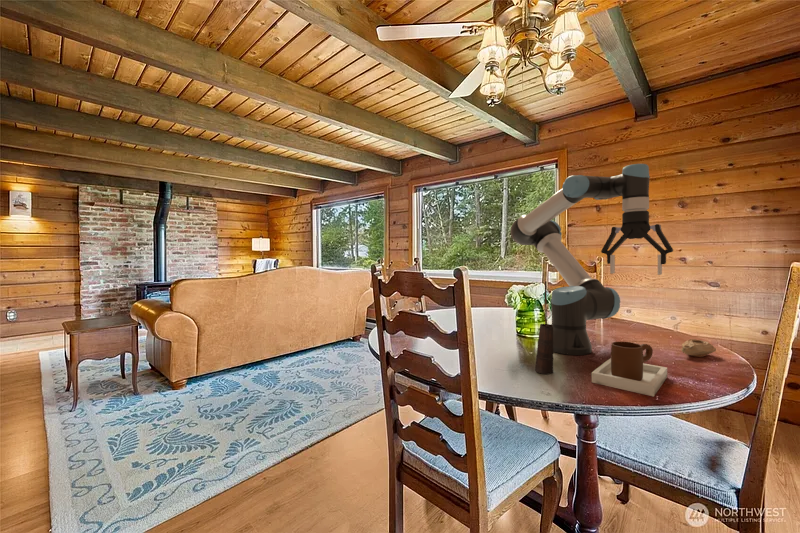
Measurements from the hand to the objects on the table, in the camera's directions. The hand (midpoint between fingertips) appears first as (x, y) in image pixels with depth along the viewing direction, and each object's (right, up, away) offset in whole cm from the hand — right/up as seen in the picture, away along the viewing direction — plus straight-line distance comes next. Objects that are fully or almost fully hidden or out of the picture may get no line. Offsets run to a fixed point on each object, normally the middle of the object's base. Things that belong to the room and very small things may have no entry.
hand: (635, 274), depth 119 cm
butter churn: (-36, -30, -12) cm, 48 cm away
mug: (-14, -29, -20) cm, 38 cm away
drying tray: (-14, -30, -19) cm, 38 cm away
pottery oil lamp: (+21, -28, +1) cm, 35 cm away
